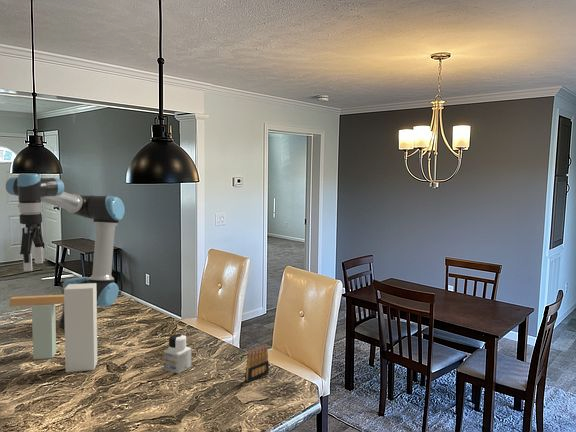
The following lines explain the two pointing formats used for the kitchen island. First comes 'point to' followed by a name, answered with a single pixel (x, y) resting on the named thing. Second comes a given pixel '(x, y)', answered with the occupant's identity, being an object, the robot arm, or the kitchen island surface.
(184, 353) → the container
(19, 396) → the kitchen island surface
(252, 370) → the ammunition clip
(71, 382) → the kitchen island surface
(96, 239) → the robot arm
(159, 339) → the kitchen island surface
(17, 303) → the bar
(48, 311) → the pale green tall block
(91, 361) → the post
